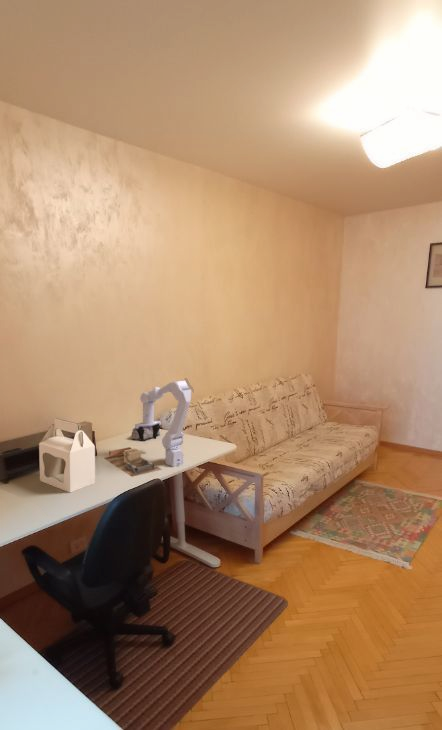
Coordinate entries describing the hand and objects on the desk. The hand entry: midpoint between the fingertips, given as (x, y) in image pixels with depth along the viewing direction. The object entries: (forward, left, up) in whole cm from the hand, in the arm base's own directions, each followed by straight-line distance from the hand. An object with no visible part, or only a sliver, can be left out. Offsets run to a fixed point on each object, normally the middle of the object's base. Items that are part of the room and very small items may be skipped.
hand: (148, 439), depth 222 cm
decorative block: (+12, +32, -10) cm, 35 cm away
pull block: (0, +12, -8) cm, 15 cm away
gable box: (-10, +46, -10) cm, 48 cm away
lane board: (-7, +13, -9) cm, 18 cm away
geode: (+34, -17, -10) cm, 39 cm away
